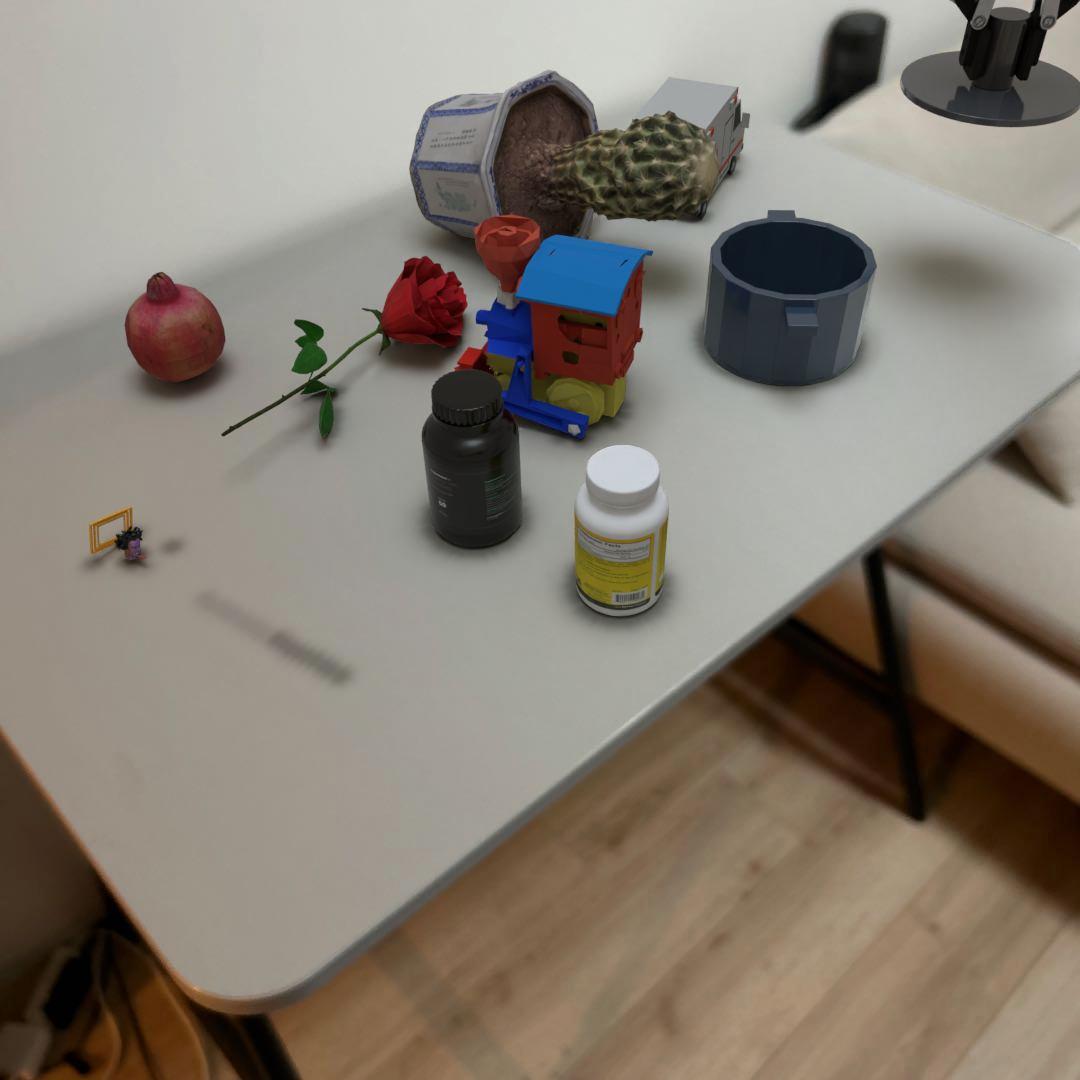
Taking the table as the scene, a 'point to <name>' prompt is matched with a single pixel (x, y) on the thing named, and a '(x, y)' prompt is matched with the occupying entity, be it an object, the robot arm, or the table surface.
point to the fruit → (174, 330)
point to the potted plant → (554, 161)
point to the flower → (387, 327)
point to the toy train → (558, 322)
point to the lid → (993, 82)
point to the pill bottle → (621, 531)
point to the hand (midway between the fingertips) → (994, 72)
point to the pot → (787, 299)
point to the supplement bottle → (472, 460)
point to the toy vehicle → (704, 117)
